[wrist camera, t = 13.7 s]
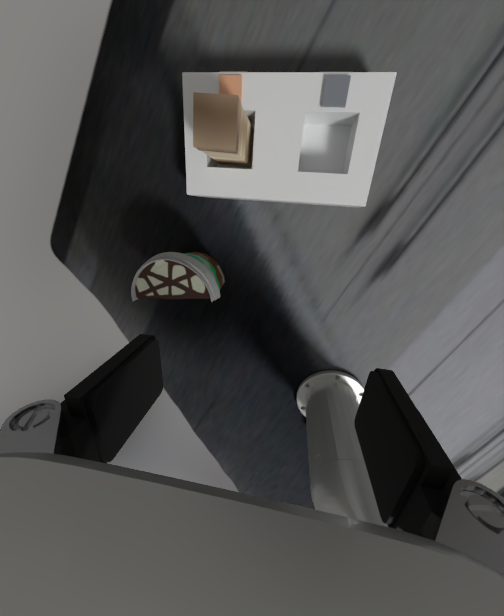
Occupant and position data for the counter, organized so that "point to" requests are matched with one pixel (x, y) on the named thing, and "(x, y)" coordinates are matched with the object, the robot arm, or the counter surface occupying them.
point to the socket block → (295, 135)
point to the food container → (178, 277)
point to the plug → (222, 129)
